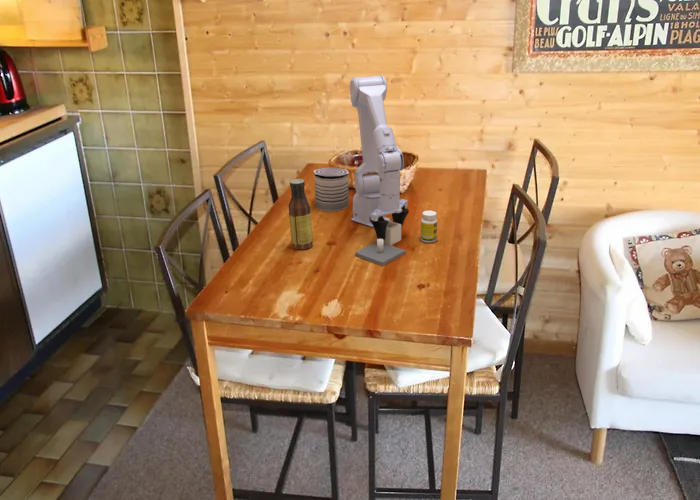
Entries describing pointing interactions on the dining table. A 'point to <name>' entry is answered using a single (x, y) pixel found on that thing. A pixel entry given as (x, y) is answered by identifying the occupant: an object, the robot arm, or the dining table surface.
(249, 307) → the dining table surface
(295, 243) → the sauce bottle
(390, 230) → the box
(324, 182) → the can
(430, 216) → the supplement bottle
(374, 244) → the base plate
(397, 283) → the dining table surface
